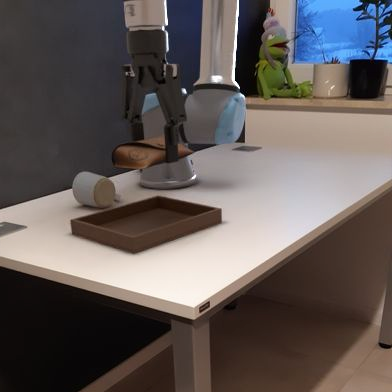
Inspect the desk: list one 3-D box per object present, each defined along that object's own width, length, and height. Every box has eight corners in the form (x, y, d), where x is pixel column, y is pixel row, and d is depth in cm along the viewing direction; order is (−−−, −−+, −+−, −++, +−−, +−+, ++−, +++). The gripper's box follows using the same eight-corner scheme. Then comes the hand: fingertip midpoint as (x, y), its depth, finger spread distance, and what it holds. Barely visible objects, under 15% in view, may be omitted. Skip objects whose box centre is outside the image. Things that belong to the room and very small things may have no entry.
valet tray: (72, 234, 111) (69, 219, 110) (158, 208, 126) (158, 195, 125) (134, 253, 99) (132, 237, 98) (221, 222, 114) (221, 208, 113)
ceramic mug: (97, 211, 125) (93, 177, 121) (73, 207, 130) (69, 174, 126) (129, 202, 132) (126, 170, 129) (106, 198, 137) (102, 167, 133)
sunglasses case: (147, 167, 99) (129, 133, 98) (123, 184, 104) (106, 152, 103) (197, 152, 113) (182, 122, 111) (174, 168, 117) (159, 139, 116)
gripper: (93, 32, 101) (107, 157, 112) (174, 26, 88) (180, 168, 99) (123, 32, 106) (134, 152, 117) (204, 26, 93) (207, 162, 104)
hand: (155, 159), depth 108 cm, fingers closed on sunglasses case, 9 cm apart
